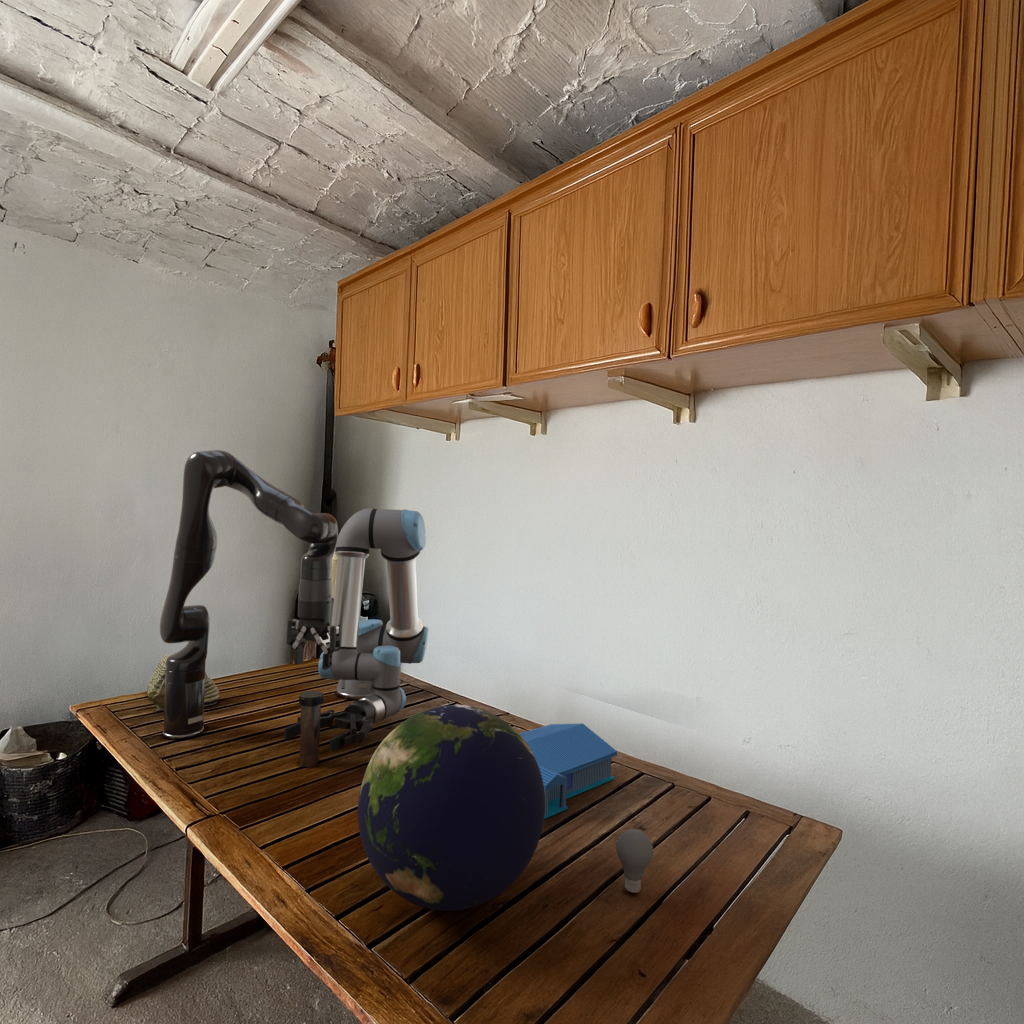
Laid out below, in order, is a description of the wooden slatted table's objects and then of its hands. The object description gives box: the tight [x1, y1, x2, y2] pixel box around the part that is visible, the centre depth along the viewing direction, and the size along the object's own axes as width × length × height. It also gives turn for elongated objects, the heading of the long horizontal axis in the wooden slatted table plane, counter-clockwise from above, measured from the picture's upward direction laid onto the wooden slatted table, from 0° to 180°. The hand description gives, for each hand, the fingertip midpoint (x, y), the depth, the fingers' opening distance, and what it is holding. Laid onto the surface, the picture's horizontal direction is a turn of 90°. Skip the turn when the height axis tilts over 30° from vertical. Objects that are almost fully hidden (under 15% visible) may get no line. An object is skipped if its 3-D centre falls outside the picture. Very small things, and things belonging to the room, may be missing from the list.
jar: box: [298, 704, 322, 768], centre depth 150 cm, size 4×4×16 cm
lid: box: [298, 690, 324, 707], centre depth 150 cm, size 6×6×2 cm
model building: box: [519, 722, 618, 820], centre depth 142 cm, size 39×24×10 cm, turn 132°
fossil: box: [146, 654, 221, 712], centre depth 185 cm, size 9×18×15 cm, turn 132°
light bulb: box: [615, 828, 654, 894], centre depth 106 cm, size 6×6×10 cm
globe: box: [357, 704, 545, 912], centre depth 102 cm, size 30×30×30 cm
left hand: (312, 666), depth 150 cm, fingers open, 8 cm apart
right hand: (307, 739), depth 148 cm, fingers open, 13 cm apart
